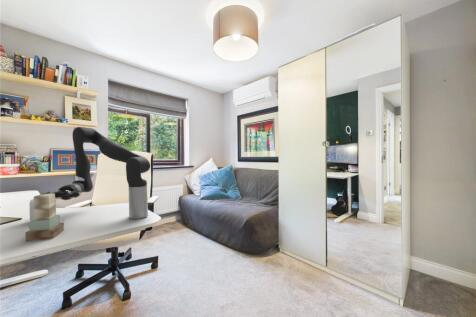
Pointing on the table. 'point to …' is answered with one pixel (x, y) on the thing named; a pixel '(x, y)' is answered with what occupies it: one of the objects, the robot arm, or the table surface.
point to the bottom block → (44, 233)
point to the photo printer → (33, 209)
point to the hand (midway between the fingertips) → (53, 198)
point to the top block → (44, 223)
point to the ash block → (44, 206)
